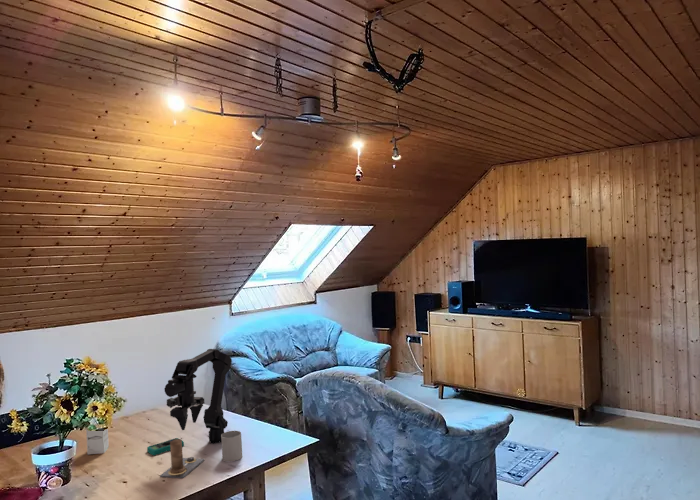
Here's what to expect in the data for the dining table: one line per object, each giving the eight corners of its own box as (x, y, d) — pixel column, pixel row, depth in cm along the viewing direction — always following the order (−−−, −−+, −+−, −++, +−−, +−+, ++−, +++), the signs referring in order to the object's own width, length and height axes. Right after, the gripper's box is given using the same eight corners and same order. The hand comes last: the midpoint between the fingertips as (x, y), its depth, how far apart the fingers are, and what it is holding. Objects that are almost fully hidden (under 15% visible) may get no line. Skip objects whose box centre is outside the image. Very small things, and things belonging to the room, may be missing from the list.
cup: (224, 463, 220) (223, 439, 219) (220, 456, 227) (218, 433, 227) (244, 458, 223) (243, 435, 223) (239, 452, 231) (238, 429, 231)
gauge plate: (183, 459, 226) (182, 455, 226) (204, 460, 224) (204, 456, 224) (160, 476, 209) (159, 472, 209) (182, 478, 207) (182, 474, 207)
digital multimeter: (185, 446, 241) (185, 440, 241) (153, 456, 231) (153, 450, 231) (178, 442, 247) (177, 436, 247) (146, 452, 237) (146, 446, 237)
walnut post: (182, 466, 217) (180, 437, 216) (186, 471, 212) (185, 441, 212) (168, 470, 213) (166, 440, 213) (172, 475, 209) (170, 444, 209)
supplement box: (86, 455, 236) (85, 427, 236) (92, 449, 243) (90, 421, 243) (104, 453, 237) (102, 425, 237) (109, 447, 244) (107, 420, 244)
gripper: (181, 384, 239) (183, 418, 240) (157, 396, 221) (159, 433, 221) (204, 384, 237) (206, 419, 237) (181, 396, 219) (183, 434, 219)
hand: (188, 426), depth 229 cm, fingers open, 9 cm apart
